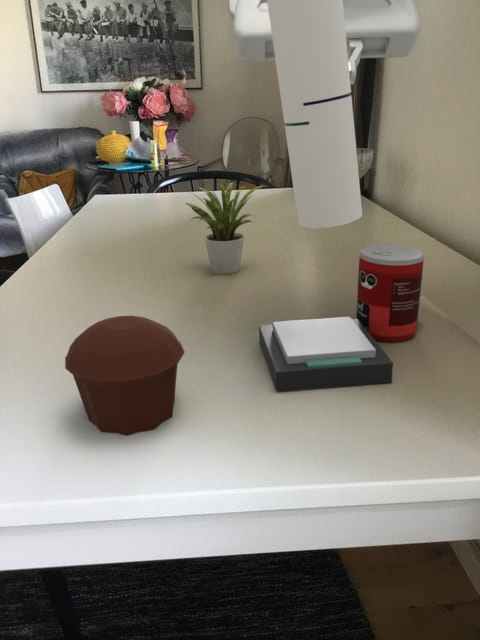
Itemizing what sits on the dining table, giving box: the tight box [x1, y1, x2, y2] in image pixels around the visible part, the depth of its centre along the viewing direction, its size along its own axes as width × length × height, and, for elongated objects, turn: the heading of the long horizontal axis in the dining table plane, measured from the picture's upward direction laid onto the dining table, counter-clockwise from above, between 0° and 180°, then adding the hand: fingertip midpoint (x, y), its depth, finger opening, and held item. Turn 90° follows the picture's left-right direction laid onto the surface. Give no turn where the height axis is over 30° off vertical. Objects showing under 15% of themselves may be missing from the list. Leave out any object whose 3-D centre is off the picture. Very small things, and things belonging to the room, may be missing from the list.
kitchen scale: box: [258, 316, 394, 393], centre depth 68 cm, size 13×13×4 cm
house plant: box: [185, 180, 268, 275], centre depth 101 cm, size 14×14×16 cm
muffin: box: [64, 315, 185, 437], centre depth 57 cm, size 12×11×10 cm
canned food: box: [355, 243, 425, 343], centre depth 74 cm, size 8×8×11 cm
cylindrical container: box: [267, 0, 363, 229], centre depth 58 cm, size 7×7×25 cm
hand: (331, 80), depth 59 cm, fingers closed on cylindrical container, 2 cm apart
